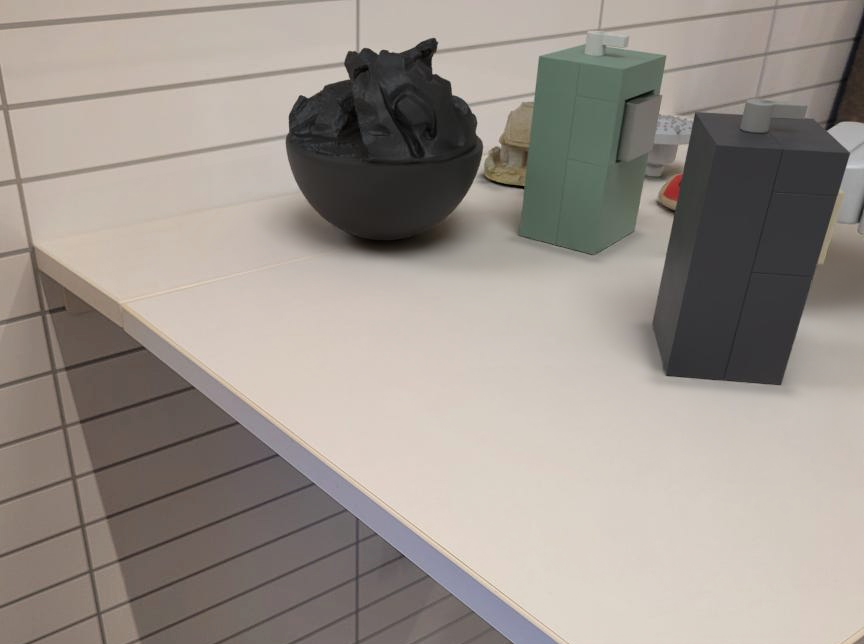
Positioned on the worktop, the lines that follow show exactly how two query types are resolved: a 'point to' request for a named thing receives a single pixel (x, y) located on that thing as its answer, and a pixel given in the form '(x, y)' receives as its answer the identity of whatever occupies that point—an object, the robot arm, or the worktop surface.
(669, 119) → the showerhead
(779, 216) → the lotion dispenser
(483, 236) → the worktop surface
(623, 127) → the plate
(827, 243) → the lotion plate
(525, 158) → the ceramic model
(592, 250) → the soap dispenser
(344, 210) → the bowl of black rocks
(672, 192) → the red and beige wedge
